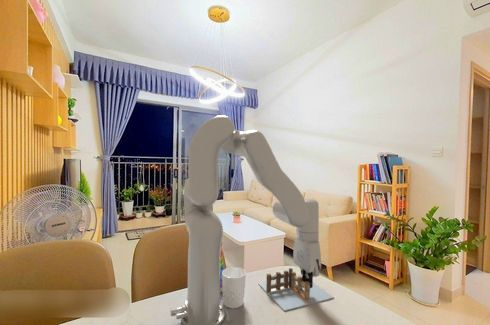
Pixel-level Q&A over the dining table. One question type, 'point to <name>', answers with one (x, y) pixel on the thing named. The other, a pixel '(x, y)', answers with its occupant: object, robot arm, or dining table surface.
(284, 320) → the dining table surface
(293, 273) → the fence fold
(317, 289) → the card
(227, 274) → the white cup
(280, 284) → the fence fixed
